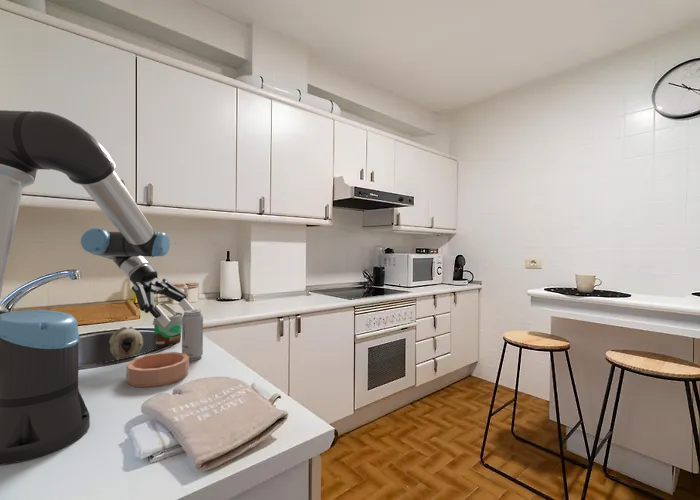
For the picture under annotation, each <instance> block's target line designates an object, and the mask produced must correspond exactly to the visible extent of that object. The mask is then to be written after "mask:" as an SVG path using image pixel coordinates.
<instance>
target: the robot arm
mask: <svg viewBox="0 0 700 500" xmlns="http://www.w3.org/2000/svg"><path fill="white" fill-rule="evenodd" d="M115 169H116V163H115V161H114V159H113V158H112V156H111V155H110V153H109V152H108V151H107V149H106V148H105V147H104V146H103V144H101V143H100V142H99V141H98V140H97V139H96V138H95V137H94V136H93V135H91V134H90V133H89V132H88V131H86V130H85V129H84V128H82V127H81V126H80V125H78V124H77V123H75V122H74V121H72V120H69V119H68V118H65V117H63V116H61V115H59V114H56V113H52V112H47V111H37V110H36V111H30V110H7V109H6V110H4V109H3V110H1V109H0V298H1V296H2V291H3V286H4V281H5V277H6V273H7V267H8V263H9V259H10V254H11V249H12V244H13V238H14V233H15V229H16V224H17V219H18V214H19V210H20V205H21V199H22V195H23V191H24V189H25V188H26V187H29V186H31V185H33V184H35V181H36V176H37V173H38V172H37V171H38V170H48V171H49V170H53V171H56V172H57V171H58V172H61V173H63V175H64V174H65V175H66V176H67V177H68V179H69V180H70V181H71V182H73V183H74V184H77V185H80V186H82V188H83V189H84V190H85V192H86V193H87V194H88V195H89V196H90V197H91V198H92V200H93V201H94V202H95V204H96V205H97V206H98V207H99V209H100V210H101V211H102V212H103V214H104V215H105V216H106V217H107V218H108V219H109V221H111V223H112V224H113V226H114V227H115V228H116V229H117V230H118V231H108V230H106V229H104V228H98V227H96V228H95V227H94V228H93V227H92V228H90V229H88V230H87V229H86V231H85V232H84V233H83V234H81V237H80V246H81V248H82V249H83V250H84V251H85V252H87V253H90V254H91V255H93V256H98V257H101V258H102V257H103V258H105V259H108V260H112V261H113V262H114V264H115V265H116V266H117V267H118V268H119V269H120V271H122V272H123V273H124V275H125V276H126V277H127V278H129V281H130V282H131V283H132V284H133V285H132V287H131V289H132V291H133V292H134V294H135V298H136V301H137V303H138V307H139V310H140V311H142V312H144V313H145V314H148V313H150V315H151V316H152V317H153V318H154V319H157V320H158V321H159V323H160V324H161V325H162V326H163V327H166V326H167V325H168V324H169V322H170V321H171V320H170V319H169V318H168V317H167V316H168V315H167V314H166V313H165V312H164V311H163V310H162V309H161V308H160V306H159V305H158V304H157V305H155V295H161V296H162V295H163V296H166V297H168V298H170V299H172V300H174V301H176V302H178V305H179V307H181V309H182V310H183V312H184V311H187V310H196V309H195V308H194V307H193V305H191V303H190V302H189V301H188V300H187V299H186V298H187V297H188V294H187V293H186V292H184V291H183V290H181V289H180V288H179V287H177V286H176V285H175V284H173V283H171V281H169V280H168V279H167V278H166V277H164V278H163V279H162V280H160V279H159V278H158V271H157V270H156V269H155V268H154V267H153V266H152V265H150V262H148V260H147V258H145V257H148V258H149V257H150V258H154V257H165V256H166V255H168V253H169V249H170V245H171V244H170V243H171V241H170V237H169V235H168V234H167V233H165V232H161V231H155V230H154V228H153V227H152V226H151V224H150V223H149V221H148V219H147V218H146V216H145V215H144V214H143V212H142V210H141V209H140V207H139V206H138V204H137V203H136V201H135V199H134V198H133V196H132V195H131V194H130V192H129V190H128V189H127V187H126V186H125V184H124V183H123V182H122V180H121V179H120V177H119V175H118V174H117V172H116V171H115ZM78 327H79V326H78V320H77V319H76V318H75V317H74V316H73V315H72V314H70V313H68V312H63V311H58V310H57V311H56V310H51V309H50V310H47V309H35V310H30V309H29V310H27V309H23V310H22V309H21V310H12V311H9V309H7V307H6V306H5V305H4V304H2V302H0V465H5V464H13V463H19V462H24V461H25V462H26V461H28V460H32V459H36V458H40V457H43V456H46V455H49V454H51V453H53V452H56V451H58V450H61V449H63V448H65V447H67V446H69V445H71V444H73V443H74V442H76V441H78V440H79V439H81V437H83V436H84V435H86V433H87V432H88V430H89V429H90V425H91V423H90V422H91V421H90V411H89V410H88V408H87V406H86V404H85V401H84V399H83V397H82V394H81V392H80V389H79V343H80V333H79V328H78Z"/></svg>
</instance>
